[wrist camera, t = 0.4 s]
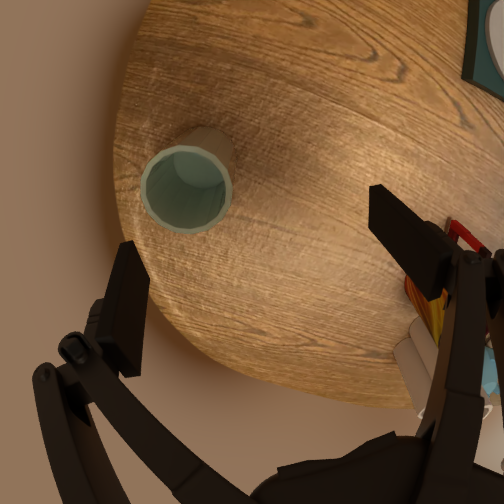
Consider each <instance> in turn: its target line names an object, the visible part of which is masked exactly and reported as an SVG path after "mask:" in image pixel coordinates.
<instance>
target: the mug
mask: <svg viewBox="0 0 504 504" xmlns="http://www.w3.org/2000/svg"><path fill="white" fill-rule="evenodd" d="M448 236H449V237H450V238H451V239H452V240H454V241H455V242H456V243H457V242H458V238H459V236H460V237H461V238H462V239H463V240H464V241H466V242H467V243H468V244H469V245H470V246H471V247H472V248H473V249H474V250H475V251H476V252H477V253H478V254H479V255H481V257H482V258H483V259H485V258H491V256H492V253H491V252H490V251H489V250H488V249H487V248H486V247H485V246H484V245H483V244H482V243H481V242H480V241H478V240H477V239H476V238H475V237H474V236H473V235H472V234H471V232H469V231H468V230H467V229H466V228H465V227H464V226H463V225H462V224H460V223H459V222H458V221H457V220H451V224H450V228H449V232H448ZM404 287H405V292H406V294H407V296H408V297H409V299H410V301H411V302H412V304H413V306H414V307H415V309H416V311H417V312H418V314H419V316H420V317H421V319H422V321H423V323H424V324H425V326H426V328H427V330H428V331H429V333H430V335H431V337H432V339H433V340H434V342H435V344H436V346H437V348H438V350H439V345H440V339H441V333H442V327H443V320H444V312H445V310H442V309H443V307H444V304H445V301H446V298H447V294H448V292H447V291H446V290H445V289H444V288H443V291H442V295H441V297H440V298H438V299H435V300H433V301H430V302H428V301H427V300H426V299H425V297H424V296H423V295H422V293H421V292H420V291H419V289H418V288H417V287H416V285H415V284H414V283H413V282H412V280H411V279H410V278H409V277H408V275H406V278H405V283H404ZM488 333H489V329H488V324H487V320H486V334H485V337H486V335H487V334H488Z"/></svg>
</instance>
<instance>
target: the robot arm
mask: <svg viewBox="0 0 504 504" xmlns="http://www.w3.org/2000/svg"><path fill="white" fill-rule="evenodd" d="M368 228H369V229H370V231H371V232H372V233H373V234H374V235H375V236H376V238H377V239H378V240H379V241H380V242H381V243H382V245H383V246H384V247H385V248H386V249H387V251H388V252H389V253H390V254H391V255H392V257H393V258H394V259H395V260H396V262H397V263H398V264H399V265H400V266H401V268H402V269H403V270H404V271H405V273H406V274H407V275H408V277H409V278H410V279H411V280H412V282H413V283H414V284H415V285H416V287H417V288H418V289H419V291H420V292H421V293H422V295H423V296H424V297H425V299H426V300H427V301H428V302H430V301H433V300H435V299H438V298H440V297H441V295H442V291H443V288H444V289H445V290H446V291H447V292H448V294H447V298H446V301H445V304H444V307H443V309H442V310H445V312H444V320H443V327H442V333H441V339H440V345H439V351H438V356H437V361H436V366H435V371H434V375H433V380H432V384H431V388H430V392H429V396H428V400H427V404H426V408H425V411H424V415H423V418H422V421H421V424H420V426H419V428H418V430H417V433H416V435H415V437H414V436H396V434H395V431H392V432H390V433H387V434H385V435H382V436H380V437H377V438H374V439H372V440H369V441H367V442H365V443H364V444H363V445H361V446H359V447H358V448H356V449H355V450H353V451H351V452H350V453H348V454H347V455H345V456H343V457H341V458H337V459H325V460H324V459H323V460H306V461H302V462H298V463H294V464H291V465H286V466H282V467H278V468H277V471H278V473H277V474H275V475H273V476H271V477H269V478H268V479H266V480H265V481H263V482H262V483H261V484H260V485H259V486H258V487H257V488H256V489H255V490H254V491H253V492H252V493H251V495H250V496H248V495H246V494H245V493H244V492H242V491H241V490H240V489H238V488H237V487H235V486H234V485H233V484H231V483H230V482H229V481H228V480H226V479H225V478H224V477H222V476H221V475H220V474H219V473H217V472H216V471H214V470H213V469H212V468H211V467H209V465H207V464H206V463H205V462H204V461H202V460H201V459H200V458H199V457H198V456H196V455H195V454H194V453H193V452H192V451H191V450H190V449H188V448H187V447H186V446H185V445H184V444H183V443H182V442H181V441H179V440H178V439H177V438H176V437H175V436H174V435H173V434H172V433H171V432H170V431H169V430H168V429H167V428H166V427H164V426H163V425H162V424H161V423H160V422H159V421H158V420H157V419H156V418H155V417H154V416H153V415H152V414H151V413H150V412H149V411H148V410H147V409H146V408H145V407H144V405H142V403H141V402H140V401H139V400H138V399H137V398H136V397H135V396H134V395H133V394H132V393H131V392H130V391H129V389H128V388H127V387H126V386H125V385H124V384H123V383H122V382H121V381H120V379H119V378H118V377H119V371H120V372H121V374H122V375H123V376H124V377H125V378H129V377H136V376H141V362H142V349H143V338H144V328H145V318H146V309H147V300H148V292H149V285H150V278H149V275H148V273H147V271H146V269H145V267H144V264H143V262H142V260H141V258H140V255H139V253H138V251H137V248H136V246H135V244H134V241H133V240H131V241H127V242H123V243H120V245H119V249H118V252H117V255H116V258H115V261H114V265H113V269H112V272H111V275H110V279H109V282H108V286H107V289H106V293H105V296H104V298H102V299H97V300H96V301H95V302H94V304H93V305H92V307H91V309H90V312H89V318H88V319H87V325H86V327H85V331H84V334H82V333H80V332H76V331H75V332H71V333H69V334H68V335H66V336H65V337H64V338H63V339H62V340H61V342H60V343H59V346H58V352H59V354H60V356H61V357H62V358H63V359H64V360H65V361H66V362H67V363H66V364H63V365H61V366H59V367H57V368H56V367H55V366H54V365H53V364H51V363H48V362H45V363H43V364H41V365H40V366H38V367H37V368H36V370H35V371H34V373H33V376H32V382H33V389H34V394H35V401H36V407H37V412H38V417H39V422H40V427H41V431H42V435H43V440H44V444H45V448H46V451H47V455H48V459H49V462H50V466H51V469H52V472H53V476H54V479H55V482H56V485H57V488H58V490H59V493H60V496H61V499H62V502H63V504H131V503H130V501H129V499H128V497H127V495H126V493H125V491H124V490H123V488H122V486H121V484H120V481H119V479H118V477H117V476H116V473H115V471H114V469H113V467H112V464H111V462H110V460H109V458H108V455H107V453H106V451H105V448H104V446H103V444H102V441H101V439H100V436H99V434H98V431H97V429H96V426H95V423H94V421H93V418H92V415H91V412H90V410H89V407H88V404H89V403H92V402H95V404H96V405H97V407H98V408H99V409H100V410H101V412H102V413H103V415H104V416H105V417H106V418H107V420H108V421H109V422H110V424H111V425H112V426H113V427H114V429H115V430H116V431H117V432H118V433H119V435H120V436H121V437H122V438H123V439H124V441H125V442H126V443H127V444H128V445H129V447H130V448H131V449H132V450H133V451H134V452H135V453H136V455H137V456H138V457H139V458H140V459H141V460H142V461H143V462H144V463H145V464H146V465H147V467H148V468H149V469H150V470H151V471H152V472H153V473H154V474H155V475H156V476H157V477H158V478H159V479H160V480H161V481H162V482H163V483H164V484H165V485H166V486H167V487H168V488H169V489H170V490H171V492H172V495H173V496H174V497H175V498H176V499H177V500H178V501H179V502H180V503H181V504H504V473H503V475H501V474H499V473H497V472H494V471H492V470H490V469H487V468H485V467H482V466H480V465H478V464H476V463H474V458H475V454H476V450H477V445H478V440H479V435H480V430H481V425H482V419H483V413H484V406H485V399H484V397H482V396H481V385H482V376H483V366H484V353H485V334H486V320H487V324H488V329H489V333H490V338H491V342H492V347H493V352H494V357H495V363H496V369H497V375H498V382H499V389H500V397H501V406H502V416H503V428H504V249H498V250H497V251H496V252H495V255H494V258H485V259H483V258H482V257H481V255H479V254H478V253H476V252H474V251H471V250H465V251H464V250H463V249H462V248H461V247H460V246H459V245H458V244H457V243H456V242H455V241H454V240H452V239H451V238H450V237H449V236H448V235H447V234H446V233H445V232H443V230H442V229H441V228H440V227H439V226H437V225H436V224H434V223H432V222H430V221H423V220H422V219H421V218H420V217H419V216H417V215H416V214H415V213H414V212H413V211H412V210H411V209H410V208H408V207H407V206H406V205H405V204H404V203H403V202H402V201H400V200H399V199H398V198H397V197H396V196H395V195H393V194H392V193H391V192H390V191H389V190H387V189H386V188H385V187H384V186H383V185H381V184H379V185H374V186H369V222H368ZM501 468H502V470H503V471H504V459H503V461H502V462H501Z"/></svg>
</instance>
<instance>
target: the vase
mask: <svg viewBox="0 0 504 504" xmlns="http://www.w3.org/2000/svg"><path fill="white" fill-rule="evenodd" d="M409 334H410V336H411V338H406V339H404V340H402V341H401V342H400V343H398V344H397V346H396V347H395V349H394V351H393V354H394V357H395V359H396V361H397V364H398V366H399V369H400V371H401V374H402V376H403V379H404V381H405V384H406V386H407V389H408V391H409V394H410V397H411V399H412V402H413V405H414V407H415V410H416V413H417V415H418V417H419V418H420V419H422V418H423V415H424V411H425V408H426V404H427V400H428V396H429V392H430V388H431V384H432V380H433V375H434V371H435V366H436V361H437V356H438V351H439V350H438V348H437V346H436V344H435V342H434V340H433V339H432V337H431V335H430V333H429V331H428V330H427V328H426V326H425V324H424V323H423V321H422V319H421V317H420V316H419V317H418V318H416V319H415V320H414V322H413V323H412V324H411V326H410V329H409ZM481 396H482V397H484V399H485V406H484V413H483V419H484V418H485V417H486V416H487V415H488V414H489V413H490V412H491V410H492V408H493V406H492V404H491V402H490V400H489V398H488V396H487V394H486V392H485V390H484V388H483V386H482V385H481ZM483 419H482V420H483Z"/></svg>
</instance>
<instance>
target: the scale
mask: <svg viewBox="0 0 504 504" xmlns="http://www.w3.org/2000/svg"><path fill="white" fill-rule="evenodd" d="M461 79H463V80H465V81H467V82H469V83H471V84H473V85H475V86H477V87H478V88H480V89H482V90H484V91H486V92H488V93H489V94H491V95H493V96H494V97H496V98H498V99H500V100H501V101H503V102H504V0H469V7H468V25H467V37H466V47H465V55H464V63H463V71H462V77H461Z"/></svg>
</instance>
